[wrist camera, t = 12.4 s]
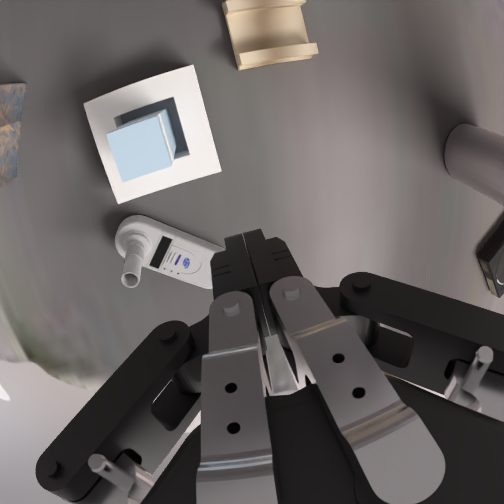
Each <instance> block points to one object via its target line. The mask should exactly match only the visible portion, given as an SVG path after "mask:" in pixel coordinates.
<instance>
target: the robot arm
mask: <svg viewBox="0 0 504 504" xmlns="http://www.w3.org/2000/svg"><path fill="white" fill-rule="evenodd" d="M444 158H445V165H446V168H447V171H448V172H449V174H450V175H451V176H452V177H453V178H455V179H457V180H459V181H460V182H462V183H464V184H466V185H468V186H470V187H472V188H473V189H475V190H477V191H479V192H481V193H482V194H484V195H486V196H488V197H489V198H491V199H493V200H495V201H496V202H498V203H500V204H501V205H503V206H504V136H502V135H499V134H496V133H494V132H491V131H488V130H485V129H482V128H479V127H476V126H473V125H469V124H466V123H465V124H460V125H458V126H456V127H455V128H454V129H453V130H452V132H451V133H450V135H449V137H448V139H447V142H446V146H445V153H444ZM243 235H244V239H245V243H246V246H245V243H244V240H243V236H242V233H241V234H238V235H234V236H230V237H226V238H224V240H225V245H226V250H224V251H221V252H217V253H214V255H213V257H212V259H211V260H210V267H211V276H212V287H213V297H214V301H213V302H212V304H211V305H210V309H209V315H208V316H207V317H206V318H204V319H203V320H201V321H200V322H198V323H196V324H194V325H192V326H190V327H188V326H187V324H185V323H184V322H182V321H168V322H165V323H163V324H161V325H159V326H157V327H156V328H155V329H154V330H153V331H152V332H151V333H150V334H149V335H148V336H147V337H146V338H145V339H144V341H143V342H142V343H141V344H140V345H139V346H138V347H137V348H136V349H135V350H134V351H133V353H132V354H131V355H130V356H129V357H128V358H127V359H126V360H125V361H124V362H123V364H122V365H121V366H120V367H119V368H118V369H117V370H116V371H115V372H114V373H113V375H112V376H111V377H110V378H109V379H108V380H107V381H106V382H105V383H104V385H103V386H102V387H101V388H100V389H99V390H98V391H97V392H96V393H95V395H94V396H93V397H92V398H91V399H90V400H89V401H88V402H87V404H86V405H85V406H84V407H83V408H82V409H81V410H80V412H79V413H78V414H77V415H76V416H75V417H74V418H73V419H72V420H71V422H70V423H69V424H68V425H67V426H66V427H65V428H64V430H63V431H62V432H61V433H60V434H59V435H58V436H57V438H56V439H55V440H54V441H53V442H52V443H51V444H50V446H49V447H48V448H47V449H46V450H45V451H44V452H43V454H42V455H41V456H40V458H39V460H38V461H37V464H36V478H37V480H38V482H39V484H40V485H41V486H42V487H43V488H44V489H46V490H48V491H50V492H51V493H53V494H55V495H57V496H59V497H61V498H62V499H63V500H65V501H67V502H69V503H71V504H504V315H502V314H499V313H496V312H493V311H490V310H487V309H484V308H481V307H478V306H474V305H471V304H468V303H465V302H462V301H459V300H456V299H452V298H449V297H446V296H443V295H440V294H436V293H433V292H430V291H427V290H424V289H420V288H417V287H414V286H411V285H407V284H404V283H401V282H398V281H394V280H391V279H388V278H385V277H381V276H378V275H375V274H372V273H368V272H356V273H352V274H349V275H347V276H346V277H344V278H343V279H342V281H341V282H340V286H339V287H331V288H322V287H316V286H313V284H312V283H311V282H310V281H309V280H308V279H306V278H304V277H303V276H302V274H301V272H300V270H299V268H298V266H297V264H296V262H295V260H294V258H293V256H292V255H291V253H290V251H289V249H288V247H287V245H286V243H285V242H284V241H282V240H281V239H279V238H277V237H274V238H271V239H267V240H265V237H264V235H263V233H262V230H261V229H257V230H253V231H249V232H245V233H243ZM246 247H247V250H246ZM247 251H248V253H247ZM262 306H263V307H262ZM263 309H264V311H263ZM264 313H265V315H264ZM265 316H266V319H267V323H268V326H269V329H270V333H271V335H275V334H278V338H279V341H280V345H281V350H282V353H283V355H284V358H285V360H286V362H287V365H288V367H289V369H290V371H291V374H292V376H293V378H294V381H295V383H296V385H297V388H298V390H299V391H297V392H295V393H293V394H290V395H282V396H281V395H280V396H274V393H273V387H272V381H271V375H270V369H269V363H268V357H267V353H266V350H267V346H266V341H265V338H264V337H268V336H269V332H268V328H267V324H266V320H265ZM380 323H382V324H385V325H388V326H390V327H393V328H396V329H399V330H401V331H404V332H407V333H408V334H410V335H411V336H412V337H413V338H411V337H408V336H406V335H403V334H400V333H397V332H395V331H392V330H389V329H386V328H384V327H381V326H380ZM382 371H385V372H387V373H389V374H392V375H394V376H397V377H399V378H402V379H404V380H407V381H409V382H412V383H414V384H417V385H419V386H422V387H425V388H427V389H430V390H432V391H435V392H438V393H440V394H443V395H445V398H443V397H440V396H438V395H435V394H433V393H431V392H428V391H426V390H424V389H421V388H419V387H417V386H415V385H412V384H410V383H408V382H405V381H403V380H401V379H398V378H395V377H392V376H388V375H384V373H383V372H382ZM170 380H171V381H170ZM169 381H170V383H169V384H168V382H169ZM167 384H168V385H167ZM166 385H167V386H166ZM165 386H166V388H165V389H164V390H163V388H164V387H165ZM162 390H163V391H162ZM161 391H162V392H161ZM160 392H161V394H160V395H159V393H160ZM158 395H159V396H158ZM157 396H158V397H157ZM156 397H157V399H156V400H155V398H156ZM154 400H155V401H154ZM153 401H154V402H153ZM152 403H153V404H152ZM200 410H201V424H200V425H199V426H197V427H196V428H195V429H194V430H193V431H192V432H191V433H190V435H189V436H188V437H187V438H186V439H185V441H184V442H183V444H182V445H181V447H180V448H179V450H178V451H177V453H176V454H175V455H174V457H173V458H172V460H171V461H170V463H169V464H168V466H167V467H166V468H165V470H164V471H163V473H162V474H161V475H160V477H159V478H158V480H157V481H156V482H155V484H154V482H153V478H152V474H153V473H154V472H155V470H156V469H157V468H158V466H159V465H160V464H161V462H162V461H163V460H164V459H165V457H166V456H167V455H168V453H169V452H170V451H171V449H172V448H173V447H174V445H175V444H176V443H177V441H178V440H179V439H180V437H181V436H182V434H183V433H184V432H185V431H186V429H187V428H188V426H189V425H190V424H191V422H192V421H193V420H194V418H195V417H196V415H197V414H198V413H199V411H200Z"/></svg>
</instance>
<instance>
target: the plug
mask: <svg viewBox="0 0 504 504" xmlns="http://www.w3.org/2000/svg"><path fill="white" fill-rule="evenodd" d="M106 135H107V139H108V142H109V145H110V148H111V151H112V154H113V157H114V159H115V162H116V165H117V168H118V171H119V174H120V177H121V179H122V182H126V181H129V180H132V179H135V178H138V177H140V176H143V175H146V174H149V173H152V172H155V171H158V170H162V169H165V168H168V167H171V166H172V163H173V162H174V154H175V150H176V145H177V143H176V139H175V136H174V132H173V129H172V125H171V122H170V118H169V115H168V111H167V108H166V109H163V110H160V111H157V112H154V113H151V114H148V115H145V116H142V117H139V118H136V119H133V120H131V121H129V122H127V123H125V124H123V125H122V126H120V127H118V128H116V129H113V130H112V131H110V132H109V133H108V134H106Z"/></svg>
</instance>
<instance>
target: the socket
mask: <svg viewBox="0 0 504 504" xmlns="http://www.w3.org/2000/svg"><path fill="white" fill-rule="evenodd" d="M84 108H85V111H86V114H87V118H88V121H89V124H90V127H91V130H92V133H93V136H94V139H95V142H96V145H97V148H98V151H99V154H100V157H101V160H102V162H103V165H104V168H105V171H106V173H107V176H108V179H109V181H110V184H111V187H112V189H113V192H114V194H115V197H116V200H117V202H118V204H120V203H123V202H126V201H129V200H131V199H134V198H137V197H140V196H143V195H146V194H149V193H152V192H155V191H158V190H161V189H164V188H167V187H171V186H174V185H177V184H180V183H183V182H187V181H190V180H193V179H197V178H200V177H203V176H207V175H210V174H214V173H217V172H221V168H220V164H219V160H218V156H217V153H216V149H215V145H214V141H213V137H212V134H211V130H210V126H209V122H208V119H207V115H206V111H205V107H204V103H203V100H202V96H201V92H200V88H199V84H198V81H197V77H196V73H195V69H194V65H190V66H187V67H183V68H180V69H176V70H173V71H169V72H166V73H163V74H160V75H157V76H154V77H151V78H148V79H145V80H142V81H139V82H136V83H133V84H131V85H128V86H125V87H123V88H120V89H117V90H115V91H112V92H110V93H107V94H105V95H103V96H100V97H98V98H95V99H93V100H91V101H89V102H86V103H84ZM166 108H167V111H168V115H169V118H170V122H171V125H172V129H173V132H174V136H175V139H176V143H177V145H176V150H175V154H174V162H173V163H172V166H171V167H168V168H165V169H162V170H158V171H155V172H152V173H149V174H146V175H143V176H140V177H138V178H135V179H132V180H129V181H126V182H122V179H121V177H120V174H119V171H118V168H117V165H116V162H115V159H114V157H113V154H112V151H111V148H110V145H109V142H108V139H107V135H106V134H108V133H109V132H110V131H112V130H113V129H116V128H118V127H120V126H122V125H123V124H125V123H127V122H129V121H131V120H133V119H136V118H139V117H142V116H145V115H148V114H151V113H154V112H157V111H160V110H163V109H166Z"/></svg>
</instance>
